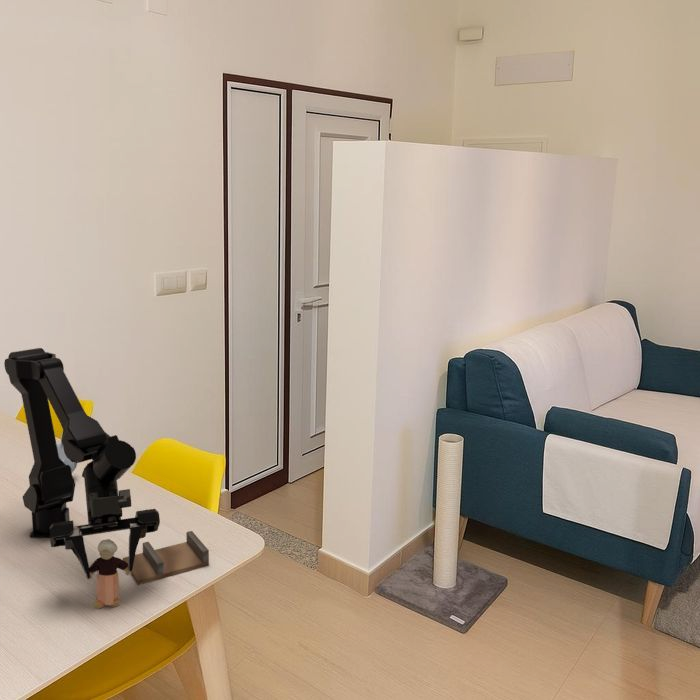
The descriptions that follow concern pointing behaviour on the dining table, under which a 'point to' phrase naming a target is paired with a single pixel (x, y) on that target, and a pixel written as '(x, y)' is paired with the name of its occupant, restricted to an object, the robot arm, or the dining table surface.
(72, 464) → the toy figure
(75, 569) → the dining table surface
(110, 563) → the grandmother figurine
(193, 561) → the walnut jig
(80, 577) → the dining table surface
